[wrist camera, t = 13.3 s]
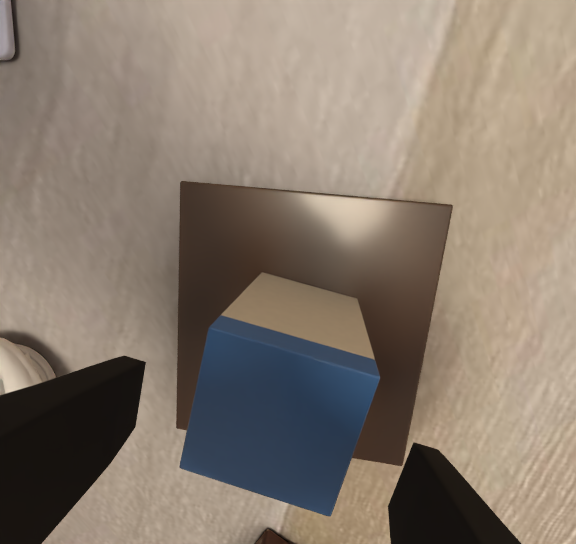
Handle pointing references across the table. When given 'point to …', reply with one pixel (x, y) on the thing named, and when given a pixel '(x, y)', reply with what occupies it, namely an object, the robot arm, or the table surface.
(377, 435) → the board
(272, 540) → the box
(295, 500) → the carton
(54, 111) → the table surface
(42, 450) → the robot arm
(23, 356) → the figurine
